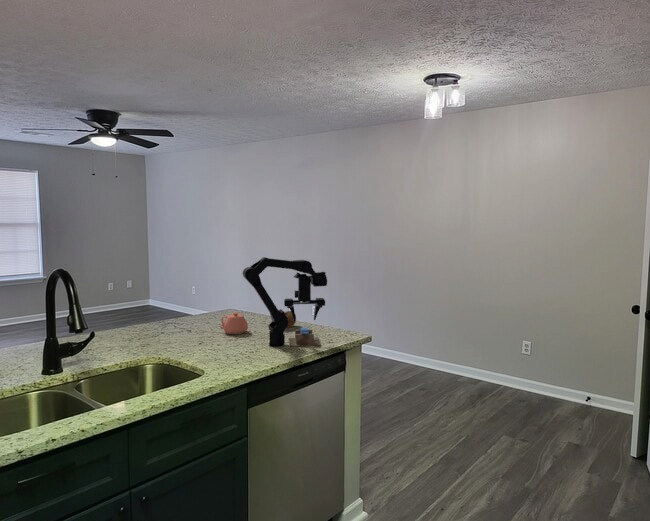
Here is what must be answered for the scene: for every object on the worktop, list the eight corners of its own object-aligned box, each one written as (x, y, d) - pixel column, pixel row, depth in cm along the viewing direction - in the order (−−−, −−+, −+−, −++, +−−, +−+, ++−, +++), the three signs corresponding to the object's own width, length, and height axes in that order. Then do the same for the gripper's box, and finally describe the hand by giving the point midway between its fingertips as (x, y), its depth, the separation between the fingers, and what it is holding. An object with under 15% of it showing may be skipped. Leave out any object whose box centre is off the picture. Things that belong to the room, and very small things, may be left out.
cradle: (289, 347, 208) (289, 336, 207) (288, 339, 222) (288, 328, 221) (320, 346, 210) (320, 335, 209) (317, 338, 223) (317, 328, 223)
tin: (277, 330, 238) (277, 314, 238) (273, 329, 240) (273, 313, 240) (296, 325, 250) (296, 310, 250) (292, 324, 252) (292, 309, 252)
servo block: (301, 344, 211) (301, 331, 210) (300, 339, 220) (300, 326, 219) (308, 343, 211) (308, 331, 211) (307, 338, 220) (307, 326, 220)
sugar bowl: (245, 336, 227) (245, 315, 226) (217, 335, 228) (216, 315, 227) (250, 330, 239) (249, 310, 238) (223, 329, 240) (222, 310, 239)
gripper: (322, 284, 222) (322, 316, 224) (283, 285, 220) (284, 317, 222) (325, 287, 211) (325, 321, 213) (284, 288, 209) (284, 322, 211)
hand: (304, 320), depth 215 cm, fingers open, 9 cm apart
